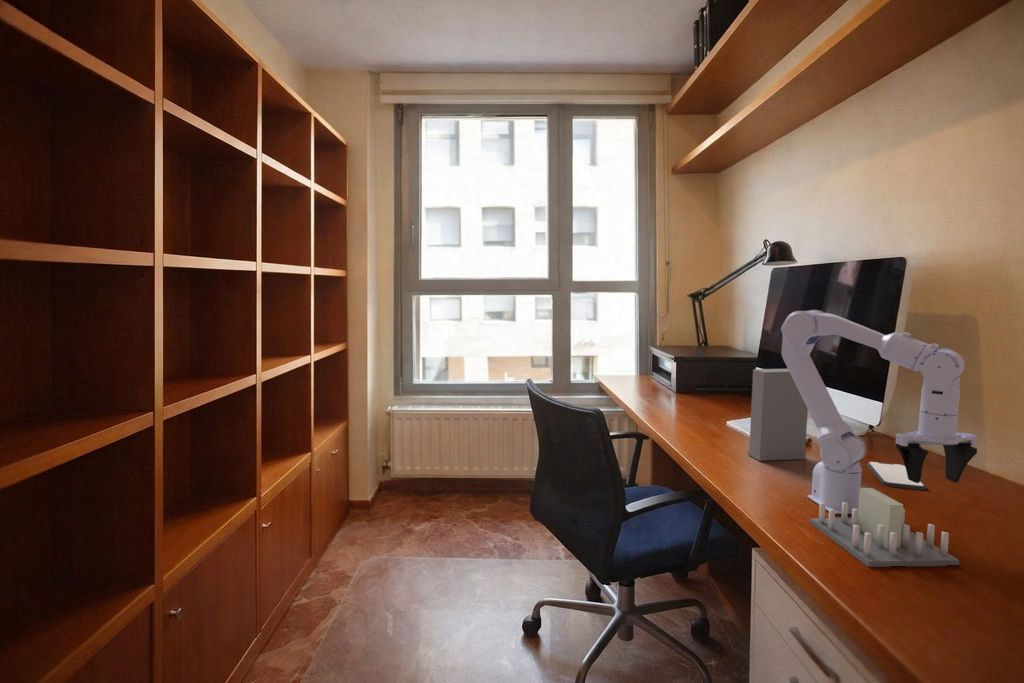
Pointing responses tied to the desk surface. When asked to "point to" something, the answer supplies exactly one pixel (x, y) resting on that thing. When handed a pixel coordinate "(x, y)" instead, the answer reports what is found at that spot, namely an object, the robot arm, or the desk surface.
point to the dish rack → (874, 551)
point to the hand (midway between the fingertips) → (932, 480)
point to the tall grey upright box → (777, 417)
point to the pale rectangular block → (879, 514)
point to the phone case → (893, 475)
